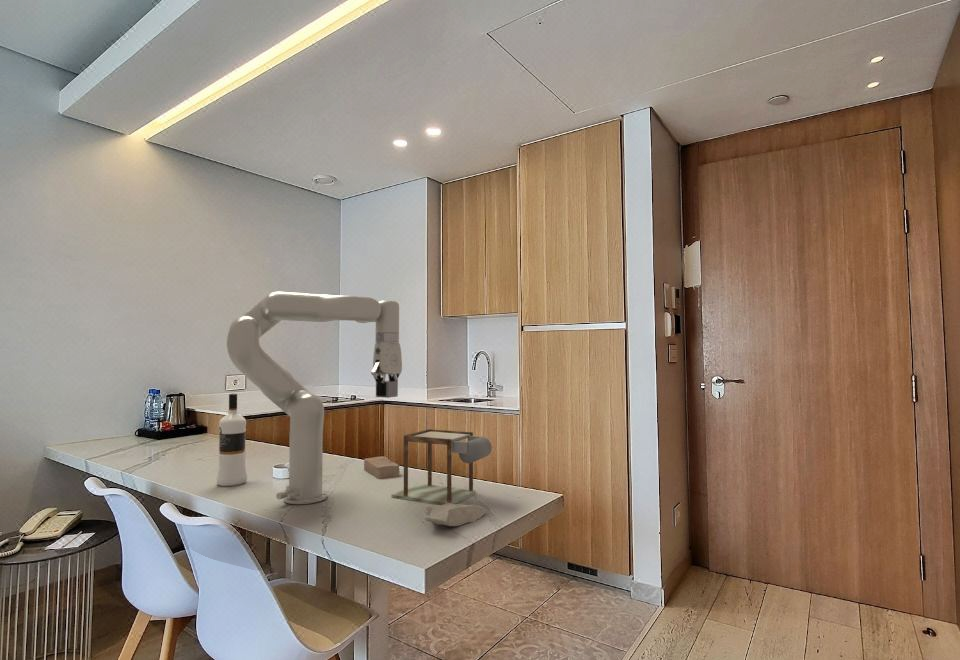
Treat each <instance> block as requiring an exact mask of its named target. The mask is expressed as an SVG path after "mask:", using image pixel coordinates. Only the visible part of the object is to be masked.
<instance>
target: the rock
mask: <svg viewBox="0 0 960 660" xmlns="http://www.w3.org/2000/svg"><path fill="white" fill-rule="evenodd" d="M426 511H427V514H428V515H425V516H424V519H425V520H426V521H427V522H432V523H433V524H435V525H438V526H439V525H441V526H445V527H457V526H459V527H460V526H462V525H464V524H470V523H474V522H475V521H477V519H478V520H479V519H481V517H483V516H485V515H486V513H487V509H486V508H485V507H482V506H479V505H477V504H462V503H461V504H460V503H457V504H451V503H446V504H443V505H439V504H433V505H431V504H430V505H426Z"/></svg>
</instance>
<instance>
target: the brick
mask: <svg viewBox="0 0 960 660" xmlns="http://www.w3.org/2000/svg"><path fill="white" fill-rule="evenodd" d="M363 470H364V471H365V472H367V473H368V474H370V475H371V476H373V477H375V478H377V479H389V478H397V477H400V465H399V464H398V463H396V462H393V461H391V460H390V459H389V458H388V457H386V456H382V455H381V456H375V457H369V458H364V459H363Z"/></svg>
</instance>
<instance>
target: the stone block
mask: <svg viewBox="0 0 960 660" xmlns="http://www.w3.org/2000/svg"><path fill="white" fill-rule="evenodd" d="M385 383H386V396H377V383H376V382H375V398H395V397H398V395H399V394H398V393H399V387H398V385H399V380H398V381H389V380H385Z"/></svg>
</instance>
